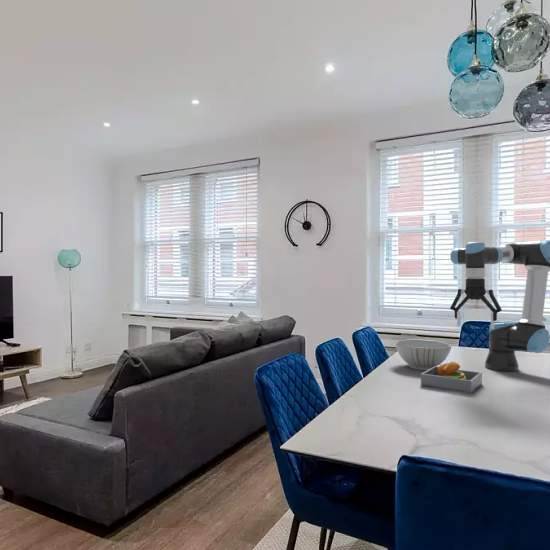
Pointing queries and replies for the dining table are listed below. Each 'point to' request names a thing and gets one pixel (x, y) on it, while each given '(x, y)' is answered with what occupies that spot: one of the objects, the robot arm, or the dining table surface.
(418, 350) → the decorative bowl
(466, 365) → the dining table surface
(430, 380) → the bin
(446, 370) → the cheeseburger
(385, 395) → the dining table surface
